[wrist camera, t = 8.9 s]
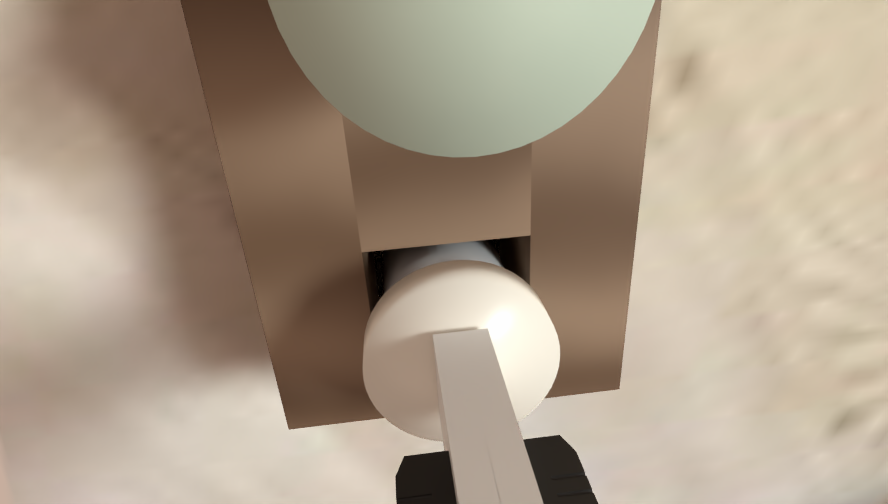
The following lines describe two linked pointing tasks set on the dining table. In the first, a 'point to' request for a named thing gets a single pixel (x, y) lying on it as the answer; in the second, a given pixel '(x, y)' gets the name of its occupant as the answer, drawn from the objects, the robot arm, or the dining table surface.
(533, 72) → the knob middle
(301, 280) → the panel
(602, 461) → the dining table surface
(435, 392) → the knob
